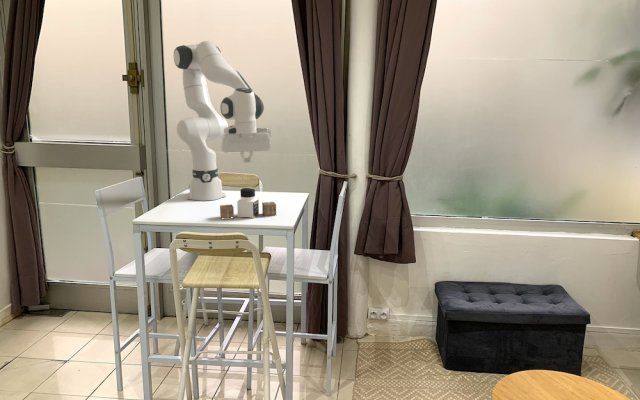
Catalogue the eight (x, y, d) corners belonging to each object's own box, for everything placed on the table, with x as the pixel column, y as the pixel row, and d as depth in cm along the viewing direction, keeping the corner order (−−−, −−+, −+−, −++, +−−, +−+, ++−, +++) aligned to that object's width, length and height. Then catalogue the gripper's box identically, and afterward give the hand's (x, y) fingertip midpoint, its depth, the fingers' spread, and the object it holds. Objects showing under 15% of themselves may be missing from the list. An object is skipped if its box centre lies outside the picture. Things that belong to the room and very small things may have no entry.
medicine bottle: (253, 218, 224) (253, 190, 222) (237, 217, 226) (236, 189, 223) (259, 214, 231) (258, 187, 228) (243, 213, 233) (242, 186, 230)
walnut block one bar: (220, 216, 228) (219, 205, 226) (232, 215, 229) (231, 204, 228) (221, 219, 223) (221, 207, 222) (234, 218, 224) (233, 207, 223)
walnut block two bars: (262, 213, 233) (262, 202, 231) (273, 212, 234) (273, 201, 233) (264, 216, 228) (264, 205, 227) (276, 215, 229) (276, 204, 228)
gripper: (269, 127, 226) (270, 160, 229) (220, 128, 220) (221, 162, 223) (272, 128, 220) (273, 162, 223) (221, 130, 214) (223, 164, 217)
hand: (246, 162), depth 223 cm, fingers closed
